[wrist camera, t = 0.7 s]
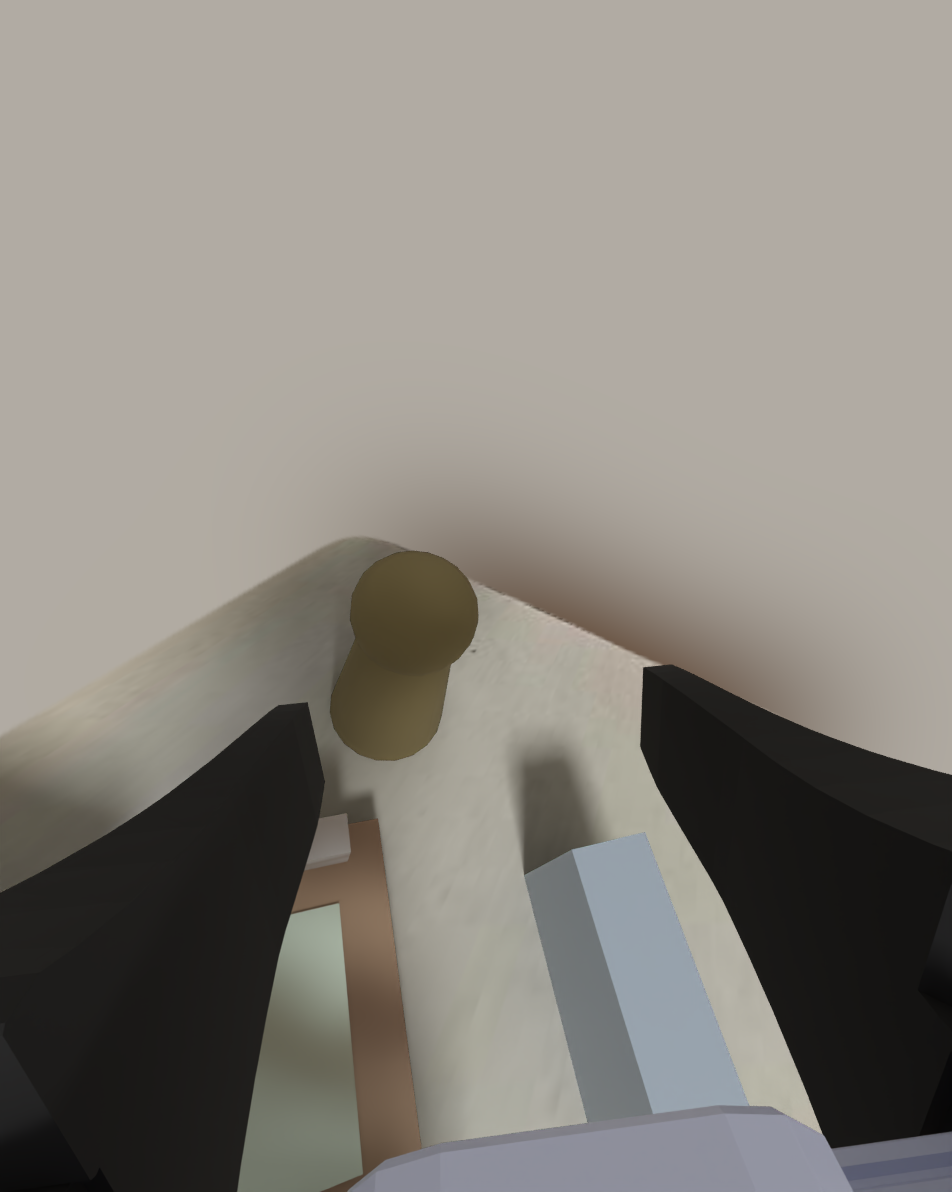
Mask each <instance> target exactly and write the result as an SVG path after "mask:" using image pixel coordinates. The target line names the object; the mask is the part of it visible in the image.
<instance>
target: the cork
mask: <svg viewBox="0 0 952 1192" xmlns="http://www.w3.org/2000/svg"><path fill="white" fill-rule="evenodd" d="M350 621H351V625H352V628H353V631H354V634H355V637H356V639H355V641H354V643H353V646H352V648H351V650H350V653H349V655H348V658H347V660H346V662H345V665H344V667H343V669H342V672H341V674H340V676H339V679H338V681H337V684H336V686H335V688H334V691H333V693H332V695H331V706H330V714H331V718H332V722H333V726H334V729H335V731H336V732H337V733H338V735H339V736H340V738H341V739H342V741H343V742H344V744H346V745H347V746H348V747H350V748H351V749H352V750H354V751H355V752H356V753H358V754H359V755H362V756H365V757H368V758H371V759H374V760H391V761H395V760H399V759H402V758H405V757H409V756H412V755H414V754H415V753H416V752H418V751H419V750H421V749H422V748H424V747H425V746H427V744H428V743H429V742H430V740H431V739H432V738H433V736H434V735H435V733H436V732H437V729H438V726H439V723H440V720H441V716H442V711H443V705H444V700H445V694H446V688H447V683H448V677H449V672H450V666H451V664H452V663H454V662H455V661H456V660H457V659H459V658H460V657H461V655H462V654H463V653H464V651H465V650H466V649H467V648H468V646H469V645H470V643H471V641H472V639H473V637H474V634H475V631H476V627H477V624H478V604H477V597H476V595H475V593H474V591H473V588H472V586H471V584H470V582H469V581H468V579H467V578H466V577H465V575H464V574H463V573H462V572H461V571H460V570H459V569H458V567H456V566H455V565H453V564H452V563H450V562H449V561H447V560H445V559H444V558H442V557H439V556H436V555H433V554H431V553H428V552H419V551H406V552H398V553H394V554H392V555H390V556H388V557H385V558H383V559H381V560H379V561H377V562H375V563H374V564H373V565H372V566H371V567H370V568H369V569H367V570H366V571H365V572H364V573H363V575H362V577H361V578H360V580H359V582H358V584H357V586H356V588H355V590H354V592H353V594H352V601H351V613H350Z"/></svg>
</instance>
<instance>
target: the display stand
mask: <svg viewBox="0 0 952 1192" xmlns="http://www.w3.org/2000/svg"><path fill="white" fill-rule="evenodd" d="M420 1149H421V1142H420V1134H419V1126H418V1119H417V1111H416V1104H415V1096H414V1089H413V1081H412V1073H411V1066H410V1058H409V1051H408V1043H407V1035H406V1028H405V1020H404V1013H403V1005H402V998H401V990H400V982H399V975H398V967H397V960H396V952H395V945H394V937H393V929H392V922H391V914H390V907H389V899H388V891H387V884H386V876H385V869H384V861H383V854H382V846H381V838H380V831H379V823H378V819H372V820H367V821H362V822H357V823H351V824H348V819H347V813H345V814H339V815H334V816H328V817H323V818H319V820H318V826H317V829H316V833H315V836H314V840H313V843H312V846H311V850H310V853H309V856H308V860H307V863H306V866H305V870H304V873H303V876H302V879H301V883H300V886H299V889H298V892H297V896H296V899H295V902H294V905H293V909H292V912H291V915H290V918H289V922H288V925H287V928H286V931H285V935H284V939H283V943H282V947H281V950H280V954H279V958H278V963H277V968H276V973H275V978H274V983H273V988H272V992H271V997H270V1002H269V1007H268V1012H267V1017H266V1023H265V1028H264V1034H263V1039H262V1045H261V1050H260V1055H259V1061H258V1066H257V1072H256V1077H255V1083H254V1089H253V1095H252V1101H251V1107H250V1113H249V1119H248V1126H247V1132H246V1138H245V1144H244V1150H243V1156H242V1162H241V1169H240V1176H239V1183H238V1190H237V1192H347V1191H348V1190H349V1189H350V1188H351V1187H352V1186H354V1185H355V1184H356V1183H357V1182H359V1181H360V1180H361V1179H362V1178H364V1177H365V1176H366V1175H367V1174H369V1173H370V1172H371V1171H372V1170H373V1169H375V1168H376V1167H377V1166H378V1165H380V1164H381V1163H382V1162H383V1161H385V1160H387V1159H390V1158H393V1157H397V1156H400V1155H403V1154H407V1153H410V1152H413V1151H417V1150H420Z"/></svg>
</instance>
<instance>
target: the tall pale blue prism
mask: <svg viewBox="0 0 952 1192" xmlns="http://www.w3.org/2000/svg"><path fill="white" fill-rule="evenodd" d="M524 877H525V881H526V885H527V889H528V892H529V896H530V900H531V904H532V908H533V912H534V916H535V920H536V923H537V927H538V931H539V935H540V939H541V943H542V947H543V951H544V955H545V958H546V962H547V966H548V970H549V974H550V978H551V982H552V986H553V990H554V993H555V997H556V1001H557V1005H558V1009H559V1013H560V1017H561V1021H562V1025H563V1028H564V1032H565V1036H566V1040H567V1044H568V1048H569V1052H570V1056H571V1060H572V1063H573V1067H574V1071H575V1075H576V1079H577V1083H578V1087H579V1091H580V1094H581V1098H582V1102H583V1106H584V1110H585V1114H586V1118H587V1122H588V1123H591V1122H599V1121H606V1120H613V1119H621V1118H628V1117H635V1116H642V1115H650V1114H657V1113H664V1112H671V1111H679V1110H686V1109H693V1108H701V1107H708V1106H715V1105H728V1106H749V1104H748V1101H747V1098H746V1096H745V1093H744V1090H743V1088H742V1085H741V1083H740V1080H739V1077H738V1075H737V1072H736V1069H735V1067H734V1064H733V1062H732V1059H731V1056H730V1054H729V1051H728V1048H727V1046H726V1043H725V1041H724V1038H723V1035H722V1033H721V1030H720V1028H719V1025H718V1022H717V1020H716V1017H715V1014H714V1012H713V1009H712V1007H711V1004H710V1001H709V999H708V996H707V993H706V991H705V988H704V986H703V983H702V980H701V978H700V975H699V972H698V970H697V967H696V965H695V962H694V959H693V957H692V954H691V952H690V949H689V946H688V944H687V941H686V938H685V936H684V933H683V931H682V928H681V925H680V923H679V920H678V917H677V915H676V912H675V910H674V907H673V904H672V902H671V899H670V896H669V894H668V891H667V889H666V886H665V883H664V881H663V878H662V876H661V873H660V870H659V868H658V865H657V862H656V860H655V857H654V855H653V852H652V849H651V847H650V844H649V841H648V839H647V836H646V834H645V832H644V833H640V834H635V835H631V836H627V837H623V838H619V839H614V840H610V841H606V842H602V843H598V844H593V845H589V846H585V847H581V848H577V849H572V850H570V851H568V852H566V853H565V854H563V855H561V856H559V857H557V858H555V859H553V860H551V861H550V862H548V863H546V864H544V865H542V866H540V867H538V868H536V869H535V870H533V871H531V872H529V873H527V874H525V875H524Z"/></svg>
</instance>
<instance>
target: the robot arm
mask: <svg viewBox="0 0 952 1192" xmlns="http://www.w3.org/2000/svg"><path fill="white" fill-rule="evenodd" d="M640 747H641V750H642V752H643V755H644V757H645V760H646V762H647V765H648V767H649V770H650V772H651V774H652V777H653V779H654V781H655V783H656V786H657V788H658V790H659V791H660V793H661V795H662V797H663V798H664V800H665V802H666V804H667V805H668V807H669V809H670V810H671V812H672V814H673V816H674V817H675V819H676V821H677V822H678V824H679V826H680V828H681V829H682V831H683V833H684V834H685V836H686V838H687V839H688V841H689V843H690V844H691V846H692V848H693V849H694V851H695V853H696V854H697V856H698V858H699V860H700V861H701V863H702V865H703V866H704V868H705V870H706V871H707V873H708V875H709V876H710V878H711V880H712V882H713V883H714V885H715V887H716V889H717V891H718V893H719V895H720V896H721V898H722V900H723V902H724V904H725V906H726V908H727V910H728V913H729V915H730V917H731V919H732V921H733V923H734V925H735V928H736V930H737V932H738V934H739V936H740V938H741V940H742V943H743V945H744V947H745V949H746V951H747V953H748V956H749V958H750V960H751V962H752V965H753V967H754V969H755V971H756V974H757V976H758V978H759V980H760V983H761V985H762V987H763V990H764V992H765V994H766V996H767V999H768V1001H769V1003H770V1005H771V1008H772V1010H773V1012H774V1015H775V1017H776V1019H777V1022H778V1024H779V1027H780V1029H781V1032H782V1034H783V1036H784V1039H785V1041H786V1044H787V1046H788V1048H789V1051H790V1053H791V1056H792V1058H793V1060H794V1063H795V1065H796V1068H797V1070H798V1073H799V1075H800V1077H801V1080H802V1082H803V1085H804V1087H805V1090H806V1092H807V1095H808V1097H809V1100H810V1103H811V1105H812V1108H813V1110H814V1113H815V1115H816V1118H817V1121H818V1123H819V1126H820V1128H821V1131H822V1133H823V1135H822V1134H820V1133H818V1132H817V1131H815V1130H813V1129H811V1128H809V1127H808V1126H806V1125H804V1124H802V1123H800V1122H798V1121H797V1120H795V1119H793V1118H791V1117H789V1116H787V1115H785V1114H784V1113H782V1112H780V1111H778V1110H776V1109H774V1108H772V1107H766V1106H728V1105H715V1106H708V1107H701V1108H693V1109H686V1110H679V1111H671V1112H664V1113H657V1114H650V1115H642V1116H635V1117H628V1118H621V1119H613V1120H606V1121H599V1122H591V1123H584V1124H577V1125H570V1126H562V1127H555V1128H548V1129H541V1130H533V1131H526V1132H519V1133H511V1134H504V1135H497V1136H490V1137H482V1138H475V1139H468V1140H461V1141H453V1142H446V1143H440V1144H437V1145H433V1146H430V1147H427V1148H423V1149H420V1150H417V1151H413V1152H410V1153H407V1154H403V1155H400V1156H397V1157H393V1158H390V1159H387V1160H385V1161H383V1162H382V1163H381V1164H380V1165H378V1166H377V1167H376V1168H375V1169H373V1170H372V1171H371V1172H370V1173H369V1174H367V1175H366V1176H365V1177H364V1178H362V1179H361V1180H360V1181H359V1182H357V1183H356V1184H355V1185H354V1186H352V1187H351V1188H350V1189H349V1190H348V1191H347V1192H952V775H950V774H946V773H942V772H938V771H934V770H931V769H927V768H924V767H920V766H917V765H914V764H910V763H906V762H903V761H900V760H896V759H893V758H889V757H886V756H883V755H880V754H877V753H874V752H871V751H868V750H864V749H862V748H859V747H856V746H853V745H850V744H848V743H845V742H842V741H840V740H837V739H834V738H831V737H828V736H826V735H823V734H821V733H818V732H815V731H813V730H810V729H808V728H805V727H803V726H801V725H799V724H796V723H794V722H792V721H789V720H787V719H785V718H783V717H780V716H778V715H776V714H773V713H771V712H769V711H767V710H765V709H763V708H761V707H758V706H756V705H754V704H752V703H750V702H748V701H746V700H744V699H742V698H740V697H738V696H736V695H734V694H732V693H730V692H728V691H726V690H724V689H722V688H720V687H718V686H716V685H714V684H712V683H710V682H708V681H706V680H704V679H702V678H700V677H698V676H696V675H694V674H692V673H690V672H688V671H686V670H683V669H681V668H679V667H676V666H674V665H662V666H652V667H643V689H642V715H641V742H640ZM324 783H325V780H324V776H323V771H322V767H321V762H320V757H319V753H318V748H317V744H316V739H315V735H314V730H313V725H312V721H311V716H310V712H309V707H308V702H306V703H296V704H287V705H278V706H277V707H275V708H274V709H273V710H271V711H270V712H269V713H267V714H266V715H265V716H264V717H262V718H261V719H260V720H259V721H258V722H256V723H255V724H254V725H253V726H252V727H250V728H249V729H248V730H247V731H246V732H245V733H243V734H242V735H241V736H240V737H239V738H237V739H236V740H235V741H234V742H233V743H231V744H230V745H229V746H228V747H227V748H225V749H224V750H223V751H222V752H221V753H219V754H218V755H217V756H216V757H215V758H213V759H212V760H211V761H210V762H209V763H207V764H206V765H205V766H203V767H202V768H201V769H199V770H198V771H197V772H196V773H194V774H193V775H192V776H190V777H189V778H188V779H186V780H185V781H184V782H183V783H181V784H180V785H179V786H177V787H176V788H175V789H173V790H172V791H171V792H169V793H168V794H167V795H165V796H164V797H163V798H161V799H160V800H158V801H157V802H156V803H154V804H153V805H151V806H150V807H148V808H147V809H145V810H144V811H142V812H141V813H139V814H138V815H136V816H135V817H133V818H132V819H130V820H129V821H127V822H126V823H124V824H122V825H121V826H119V827H118V828H116V829H115V830H113V831H112V832H110V833H108V834H107V835H105V836H103V837H102V838H100V839H98V840H97V841H95V842H93V843H91V844H90V845H88V846H86V847H84V848H83V849H81V850H79V851H77V852H76V853H74V854H72V855H70V856H69V857H67V858H65V859H63V860H62V861H60V862H58V863H56V864H55V865H53V866H51V867H49V868H48V869H46V870H44V871H42V872H40V873H38V874H36V875H35V876H33V877H31V878H29V879H27V880H25V881H23V882H21V883H19V884H17V885H15V886H13V887H11V888H9V889H7V890H5V891H3V892H1V893H0V1192H237V1190H238V1183H239V1176H240V1169H241V1162H242V1156H243V1150H244V1144H245V1138H246V1132H247V1126H248V1119H249V1113H250V1107H251V1101H252V1095H253V1089H254V1083H255V1077H256V1072H257V1066H258V1061H259V1055H260V1050H261V1045H262V1039H263V1034H264V1028H265V1023H266V1017H267V1012H268V1007H269V1002H270V997H271V992H272V988H273V983H274V978H275V973H276V968H277V963H278V958H279V954H280V950H281V947H282V943H283V939H284V935H285V931H286V928H287V925H288V922H289V918H290V915H291V912H292V909H293V905H294V902H295V899H296V896H297V892H298V889H299V886H300V883H301V879H302V876H303V873H304V870H305V866H306V863H307V860H308V856H309V853H310V850H311V846H312V843H313V840H314V836H315V833H316V829H317V826H318V820H319V815H320V809H321V803H322V796H323V790H324Z"/></svg>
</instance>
